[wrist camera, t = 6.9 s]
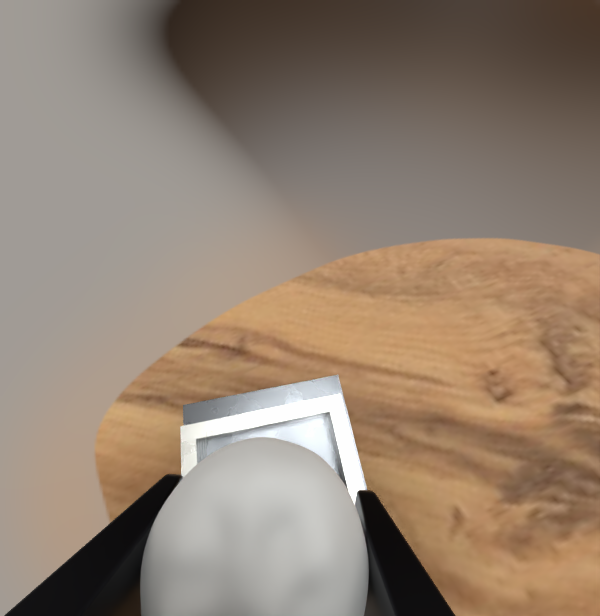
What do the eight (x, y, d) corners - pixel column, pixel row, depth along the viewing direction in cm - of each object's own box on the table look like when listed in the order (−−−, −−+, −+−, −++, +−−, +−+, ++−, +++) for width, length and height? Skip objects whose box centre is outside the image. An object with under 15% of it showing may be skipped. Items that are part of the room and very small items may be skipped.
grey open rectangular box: (383, 591, 17) (414, 642, 12) (207, 639, 16) (172, 713, 11) (332, 384, 22) (342, 366, 18) (197, 411, 21) (170, 400, 17)
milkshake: (247, 614, 12) (80, 1153, 3) (217, 468, 14) (71, 490, 5) (353, 563, 12) (505, 851, 3) (308, 432, 15) (326, 394, 6)
